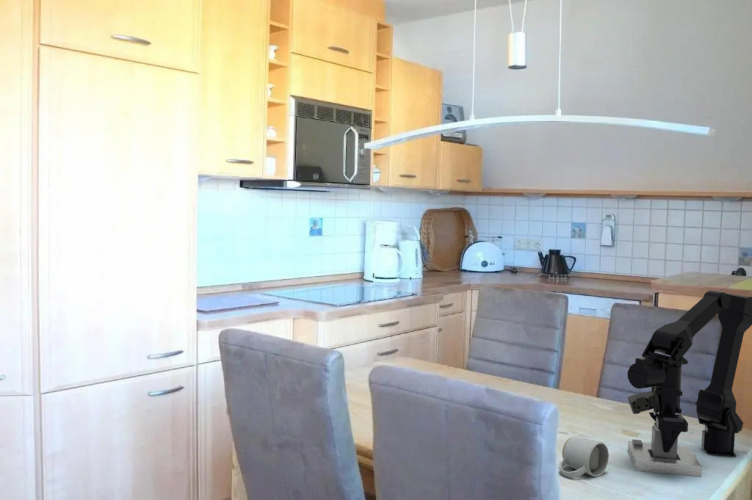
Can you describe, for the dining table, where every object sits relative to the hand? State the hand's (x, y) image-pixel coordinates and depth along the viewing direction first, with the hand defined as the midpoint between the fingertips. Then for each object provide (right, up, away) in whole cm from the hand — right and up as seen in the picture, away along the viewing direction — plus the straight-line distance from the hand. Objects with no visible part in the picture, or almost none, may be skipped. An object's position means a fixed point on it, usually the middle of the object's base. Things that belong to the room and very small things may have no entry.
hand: (664, 449), depth 165 cm
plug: (0, -1, 0) cm, 1 cm away
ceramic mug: (-21, -4, -5) cm, 22 cm away
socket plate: (0, -4, +1) cm, 4 cm away
